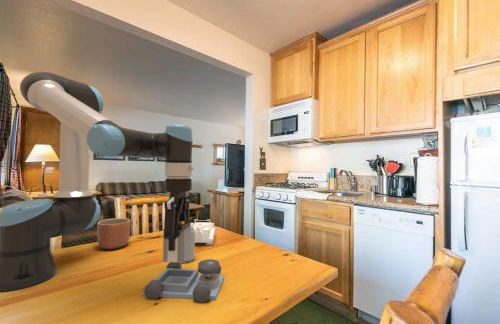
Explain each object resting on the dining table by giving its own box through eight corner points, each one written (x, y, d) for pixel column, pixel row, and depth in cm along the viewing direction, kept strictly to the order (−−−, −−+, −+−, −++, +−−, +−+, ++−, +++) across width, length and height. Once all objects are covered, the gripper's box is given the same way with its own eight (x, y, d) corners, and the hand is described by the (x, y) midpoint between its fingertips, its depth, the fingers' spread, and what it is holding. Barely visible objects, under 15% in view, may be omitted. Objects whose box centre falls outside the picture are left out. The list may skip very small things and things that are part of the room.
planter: (91, 253, 94) (92, 225, 94) (102, 243, 106) (103, 218, 106) (125, 250, 97) (126, 224, 97) (133, 241, 109) (133, 217, 109)
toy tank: (215, 235, 120) (215, 216, 120) (211, 249, 100) (212, 226, 100) (191, 236, 119) (191, 216, 119) (183, 250, 99) (183, 226, 99)
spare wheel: (195, 281, 66) (195, 267, 66) (201, 271, 72) (201, 258, 72) (216, 282, 65) (216, 268, 65) (220, 272, 71) (221, 259, 71)
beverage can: (185, 264, 84) (186, 230, 84) (172, 261, 87) (173, 228, 88) (198, 258, 90) (198, 226, 90) (185, 255, 93) (186, 224, 93)
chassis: (139, 298, 62) (139, 282, 62) (164, 273, 77) (164, 259, 78) (214, 303, 61) (214, 286, 61) (225, 276, 76) (225, 262, 76)
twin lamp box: (162, 261, 67) (163, 223, 67) (171, 254, 73) (172, 218, 73) (183, 262, 66) (184, 223, 66) (190, 254, 72) (191, 219, 72)
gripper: (178, 179, 60) (177, 271, 60) (200, 176, 79) (199, 246, 79) (150, 179, 61) (148, 270, 60) (178, 176, 80) (177, 245, 79)
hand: (177, 256), depth 69 cm, fingers closed on twin lamp box, 6 cm apart
